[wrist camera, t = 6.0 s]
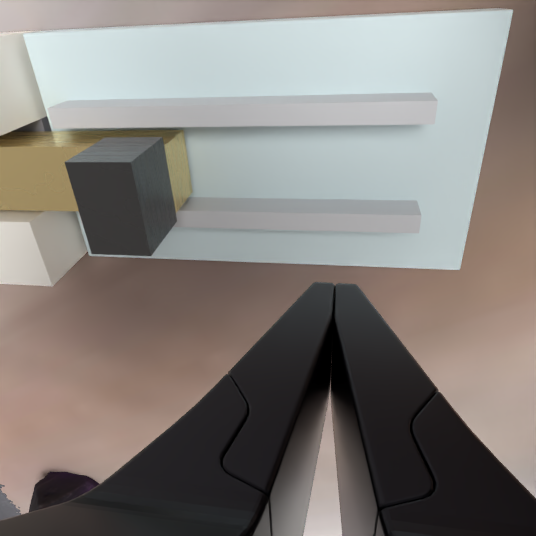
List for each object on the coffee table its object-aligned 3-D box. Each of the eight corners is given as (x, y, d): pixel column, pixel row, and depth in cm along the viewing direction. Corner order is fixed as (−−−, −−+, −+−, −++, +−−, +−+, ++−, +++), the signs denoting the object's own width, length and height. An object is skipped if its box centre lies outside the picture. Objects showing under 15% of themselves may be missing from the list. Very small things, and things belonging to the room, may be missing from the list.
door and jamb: (499, 7, 14) (544, 14, 11) (452, 251, 19) (474, 307, 16) (-97, 37, 18) (-200, 48, 15) (-12, 236, 23) (-75, 280, 19)
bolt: (182, 121, 16) (130, 162, 12) (193, 198, 18) (150, 256, 14) (-60, 124, 18) (-171, 161, 14) (-30, 195, 19) (-122, 246, 15)
